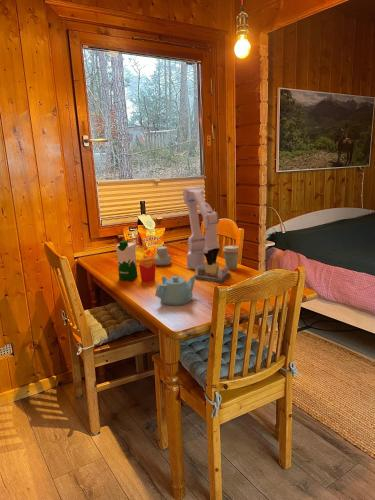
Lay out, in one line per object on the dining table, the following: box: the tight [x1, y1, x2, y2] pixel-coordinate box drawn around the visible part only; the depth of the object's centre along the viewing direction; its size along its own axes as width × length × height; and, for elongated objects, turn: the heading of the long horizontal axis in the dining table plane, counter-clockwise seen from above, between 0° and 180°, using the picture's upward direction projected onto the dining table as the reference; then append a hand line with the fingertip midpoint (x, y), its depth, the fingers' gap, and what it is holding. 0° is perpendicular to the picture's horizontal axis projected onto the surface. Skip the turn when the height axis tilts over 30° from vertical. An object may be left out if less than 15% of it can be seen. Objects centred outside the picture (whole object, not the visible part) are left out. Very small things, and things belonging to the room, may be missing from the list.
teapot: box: [154, 275, 196, 307], centre depth 157 cm, size 15×15×11 cm
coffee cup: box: [222, 244, 240, 271], centre depth 197 cm, size 8×8×12 cm
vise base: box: [192, 263, 232, 284], centre depth 184 cm, size 16×11×6 cm
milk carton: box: [115, 240, 138, 282], centre depth 186 cm, size 9×9×20 cm
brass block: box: [205, 261, 220, 275], centre depth 184 cm, size 6×4×6 cm, turn 61°
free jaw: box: [218, 265, 229, 278], centre depth 181 cm, size 2×8×4 cm, turn 151°
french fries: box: [138, 256, 157, 284], centre depth 182 cm, size 8×4×12 cm, turn 111°
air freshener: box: [154, 246, 172, 267], centre depth 209 cm, size 11×8×10 cm
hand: (211, 263), depth 183 cm, fingers closed on brass block, 3 cm apart
